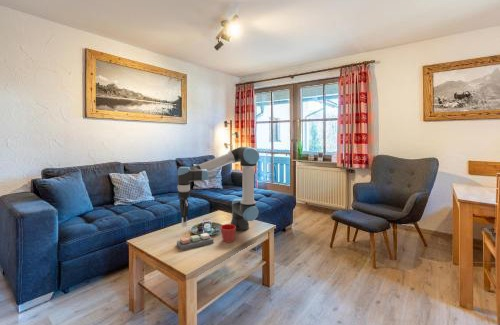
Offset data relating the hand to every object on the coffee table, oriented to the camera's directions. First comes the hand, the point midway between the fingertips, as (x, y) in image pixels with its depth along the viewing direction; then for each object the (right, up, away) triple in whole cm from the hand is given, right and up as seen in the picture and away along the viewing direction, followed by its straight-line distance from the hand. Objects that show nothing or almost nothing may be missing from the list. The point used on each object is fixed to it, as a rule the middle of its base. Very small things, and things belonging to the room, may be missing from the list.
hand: (184, 226), depth 168 cm
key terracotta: (0, -11, +1) cm, 11 cm away
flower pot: (+28, -13, +12) cm, 33 cm away
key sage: (+6, -10, +5) cm, 13 cm away
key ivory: (+12, -10, +9) cm, 18 cm away
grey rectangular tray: (+6, -13, +5) cm, 16 cm away
